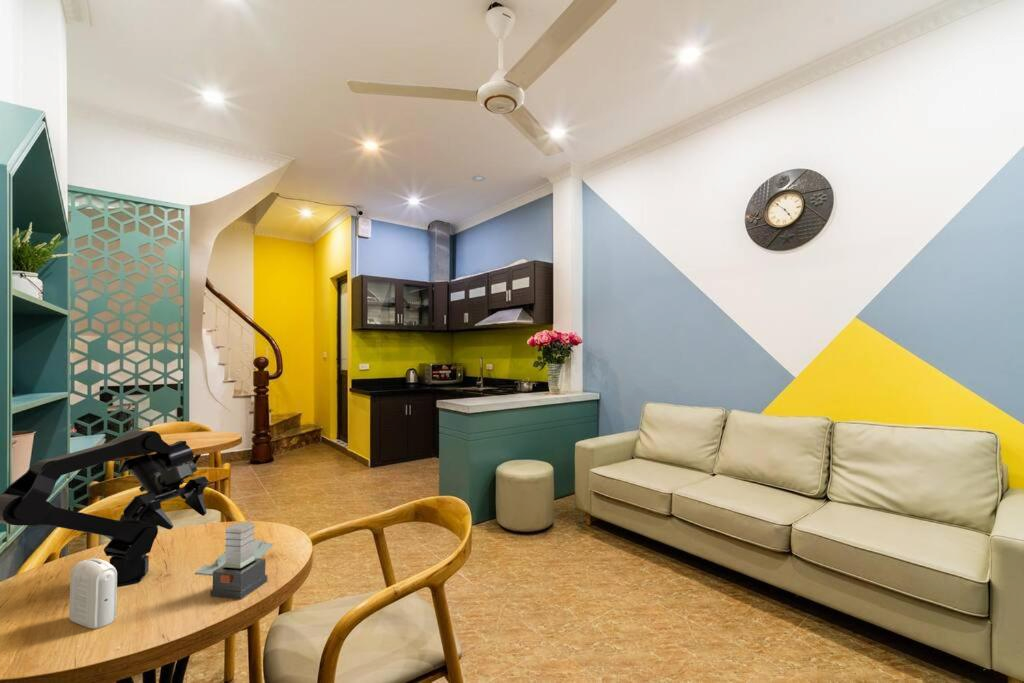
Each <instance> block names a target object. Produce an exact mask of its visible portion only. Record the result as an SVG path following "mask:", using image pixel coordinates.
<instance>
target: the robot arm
mask: <svg viewBox="0 0 1024 683" xmlns="http://www.w3.org/2000/svg"><path fill="white" fill-rule="evenodd" d="M191 448H192V447H190V445H187V441H186V440H179V441H176V442H174V443H172V444H168V443H167V442H166V441H164V440H163V439H162V436H161V434H160V433H159V432H158V431H156V430H138V429H137V430H132V431H130V432H127V433H125V434H121V435H120V436H118V437H117V438H115V439H114V440H112V441H110V442H107V443H103V444H99V445H96V446H95V445H94V446H92V447H89V448H84V449H81V450H78V451H75V452H74V451H73V452H70V453H67V454H62V455H59V456H55V457H52V458H47V459H41V460H38V461H36V462H35V463H34V464H31V466H30V468H29V469H28V470H27V471H26V472H25V473H24V474H23V475H21V476H20V477H18V478H17V479H16V480H14V481H13V482H11V484H10V485H8V486H7V487H6V488H5V490H4V491H3V492H2V493H1V494H0V524H4V525H10V526H27V527H30V526H32V527H33V526H50V527H55V528H62V529H66V530H72V531H76V532H83V533H89V534H93V535H99V536H103V537H105V538H107V539H109V540H110V541H109V542H108V543H107V544H106V546H105V547H104V548H103V552H104V554H105V556H106V557H110V558H109V563H110V564H111V565H113V566H114V568H115V569H116V571H117V587H120V586H124V585H125V586H126V585H131V584H136V583H140V582H141V581H142V580H143V579H144V577H145V576H146V575H147V574H148V573H149V564H150V563H149V562H150V561H149V560H150V557H149V555H147V554H149V553H151V551H152V547H153V545H154V542H155V539H156V538H157V536H158V533H159V528H158V527H161V528H163V529H166V530H172V529H173V528H174V524H173V523H172V521H171V520H170V518H169V517H168V516H167V514H166V513H165V511H164V510H163V509H162V504H161V503H164V502H166V501H168V500H172V499H175V498H177V497H180V498H182V499H183V500H185V501H184V504H186V505H187V506H189V507H190V508H191V509H193V510H194V511H195V512H197V514H199V515H200V516H202V517H204V516H206V514H207V509H206V504H205V500H204V490H205V489H206V488H207V485H209V483H210V481H209V479H208V478H207V477H206V476H205V475H201V476H197V477H194V478H190V479H189V480H188V481H187V482H186V484H184V483H185V480H186V479H187V478H189V477H193V476H194V475H195V474H194V473H196V472H197V471H198V467H197V464H196V463H195V462H194V461H193V460H194V451H192V449H191ZM129 457H130V458H129ZM131 457H132V458H131ZM120 458H124V459H123V460H122V462H121V466H120V468H119V469H118V471H117V472H118V474H123V473H125V472H129V471H130V472H131V473H132V475H133V476H134V477H135V479H136V480H137V481H138V482H139V484H140V485H141V486H139V488H138V490H139V491H140V492H141V493H142V492H145V493H142V494H139V495H135V496H134V497H133V498H132V500H130V501H129V503H128V504H127V505H126V506H125V507H124V509H123V513H122V514H121V515H120V518H119V519H112V518H107V517H103V516H99V515H94V514H89V513H84V512H80V511H75V510H71V509H66V508H61V507H58V506H56V505H55V504H54V503H52V502H50V501H48V498H50V496H51V495H52V492H53V490H54V488H55V486H56V483H57V482H58V480H59V479H60V478H61V477H62V476H64V475H67V474H70V473H74V472H77V471H81V470H83V469H88V468H90V467H93V466H96V465H99V464H103V463H107V462H110V461H112V460H117V459H120ZM183 484H184V485H183ZM181 485H183V486H182V487H180V486H181Z"/></svg>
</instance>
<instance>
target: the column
mask: <svg viewBox="0 0 1024 683" xmlns="http://www.w3.org/2000/svg"><path fill="white" fill-rule="evenodd" d="M224 533H225V539H224V540H225V545H224V547H225V551H226V562H225V564H224V567H225V568H238V569H241V568H242V567H244V566H246V565H247V564H249V563H251V562H253V561H254V560H255V556H254V541H255V522H249V521H238V522H236V523H234V524H231V525H230V526H226V527H225V532H224Z"/></svg>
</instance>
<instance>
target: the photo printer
mask: <svg viewBox="0 0 1024 683" xmlns="http://www.w3.org/2000/svg"><path fill="white" fill-rule="evenodd" d="M69 583H70V586H69V611H68V613H69V614H68V615H69V616H68V617H69V620H70V621H71V622H73V623H75V624H78V625H80V626H83V627H86V628H87V629H95V630H96V629H102V628H104V627H106V626H108V625H110V624H111V623H113V621H114V620H116V616H117V593H118V586H117V571H116V569H115V568H114V566H113V565H111V564H110V562H108V561H106V560H104V559H100V558H88V559H85V560H81V561H78V562H77V563H75V565H74V566H73V568H72V569H71V571H70V582H69Z"/></svg>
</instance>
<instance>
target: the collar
mask: <svg viewBox="0 0 1024 683" xmlns="http://www.w3.org/2000/svg"><path fill="white" fill-rule="evenodd" d="M267 582H268V575H267V574H266V558H255V560H254V561H253V562H251V563H249V564H247V565H246V566H244V567H242V568H241V569H238V568H225V567H224V565H223V566H222V567H220V568H218V569H216V570H215V571H213V575H212V589H210V591H209V592H210V593H209V594H210V595H209V596H210V598H211V597H212V598H221V599H232V600H242V599H244V598H245V597H247V596H248V595H250V594H251V593H252V592H254V591H255V590H257V589H258V588H260V587H261V586H263V585H264V584H266V583H267Z"/></svg>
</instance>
